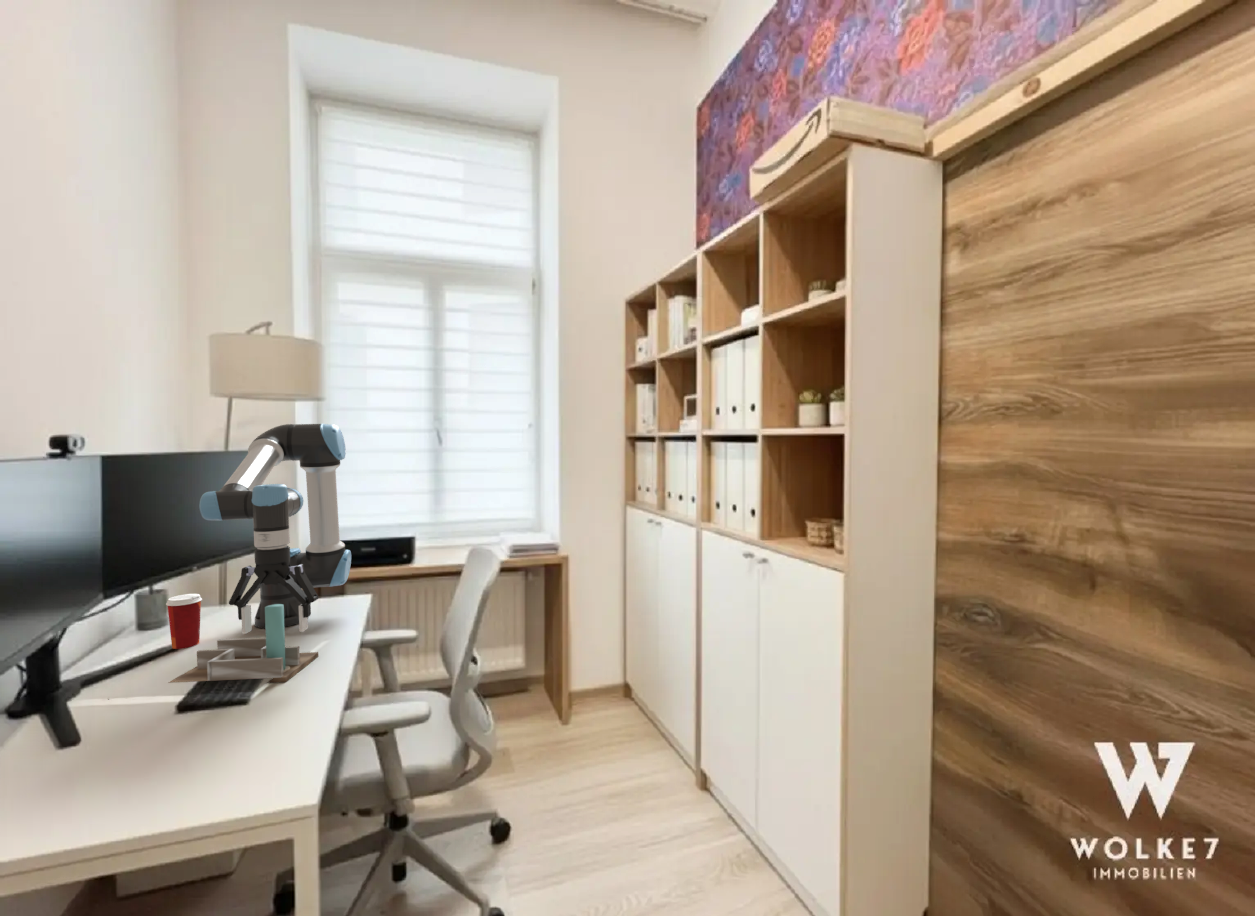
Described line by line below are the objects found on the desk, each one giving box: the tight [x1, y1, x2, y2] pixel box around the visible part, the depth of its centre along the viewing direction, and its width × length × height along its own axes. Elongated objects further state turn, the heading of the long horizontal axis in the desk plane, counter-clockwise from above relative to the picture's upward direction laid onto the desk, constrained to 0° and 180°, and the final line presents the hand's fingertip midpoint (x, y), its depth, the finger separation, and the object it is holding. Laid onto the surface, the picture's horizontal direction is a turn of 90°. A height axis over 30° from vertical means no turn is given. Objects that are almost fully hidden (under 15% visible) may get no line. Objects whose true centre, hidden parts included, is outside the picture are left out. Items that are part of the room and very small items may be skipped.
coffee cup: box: [165, 593, 203, 650], centre depth 164 cm, size 8×8×15 cm
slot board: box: [168, 637, 319, 684], centre depth 147 cm, size 17×27×6 cm, turn 94°
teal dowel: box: [264, 604, 286, 670], centre depth 144 cm, size 4×4×16 cm
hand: (275, 631), depth 144 cm, fingers open, 13 cm apart
